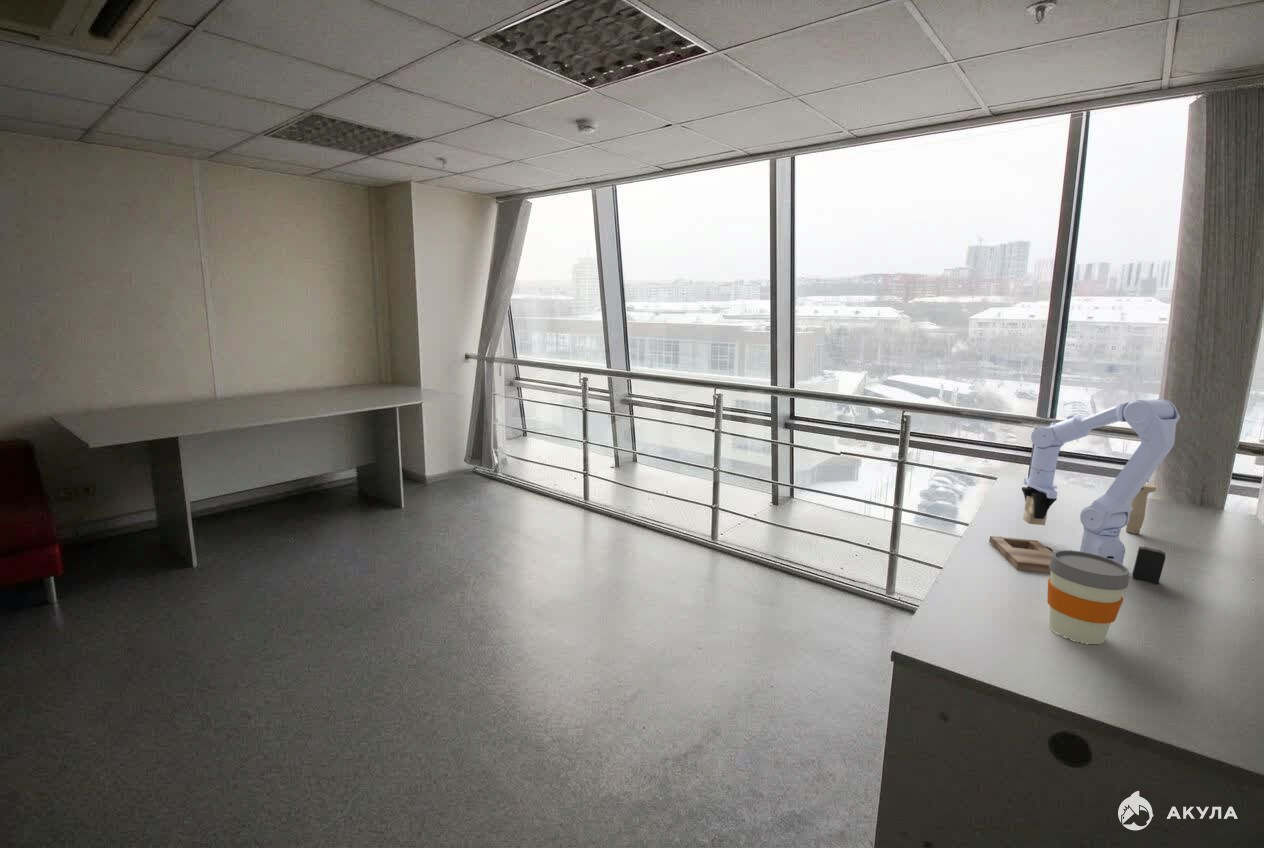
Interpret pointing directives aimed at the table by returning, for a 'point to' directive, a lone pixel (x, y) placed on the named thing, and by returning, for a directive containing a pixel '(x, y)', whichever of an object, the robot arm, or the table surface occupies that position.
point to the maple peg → (1032, 513)
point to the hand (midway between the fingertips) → (1034, 515)
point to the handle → (1139, 509)
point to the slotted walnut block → (1024, 553)
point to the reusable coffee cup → (1084, 594)
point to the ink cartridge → (1148, 565)
